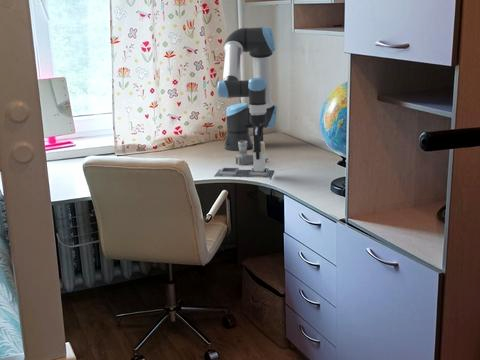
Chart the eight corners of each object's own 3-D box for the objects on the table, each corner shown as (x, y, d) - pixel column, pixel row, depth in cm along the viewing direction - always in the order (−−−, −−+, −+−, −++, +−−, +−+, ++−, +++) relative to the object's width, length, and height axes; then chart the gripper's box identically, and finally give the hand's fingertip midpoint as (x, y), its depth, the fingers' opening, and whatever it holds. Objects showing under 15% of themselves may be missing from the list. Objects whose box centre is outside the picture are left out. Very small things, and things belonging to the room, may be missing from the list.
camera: (232, 140, 308) (258, 136, 315) (232, 164, 311) (258, 160, 319) (241, 144, 301) (268, 140, 308) (241, 168, 304) (268, 163, 311)
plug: (255, 168, 292) (254, 141, 289) (265, 168, 291) (265, 141, 288) (253, 171, 288) (252, 143, 284) (264, 171, 287) (263, 143, 284)
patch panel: (219, 171, 300) (219, 166, 299) (274, 172, 295) (274, 167, 294) (213, 178, 289) (213, 173, 288) (270, 179, 284) (270, 174, 283)
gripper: (252, 110, 292) (254, 159, 298) (246, 117, 275) (247, 169, 282) (269, 110, 290) (270, 159, 297) (263, 117, 274) (264, 169, 280)
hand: (259, 164), depth 289 cm, fingers closed on plug, 4 cm apart
